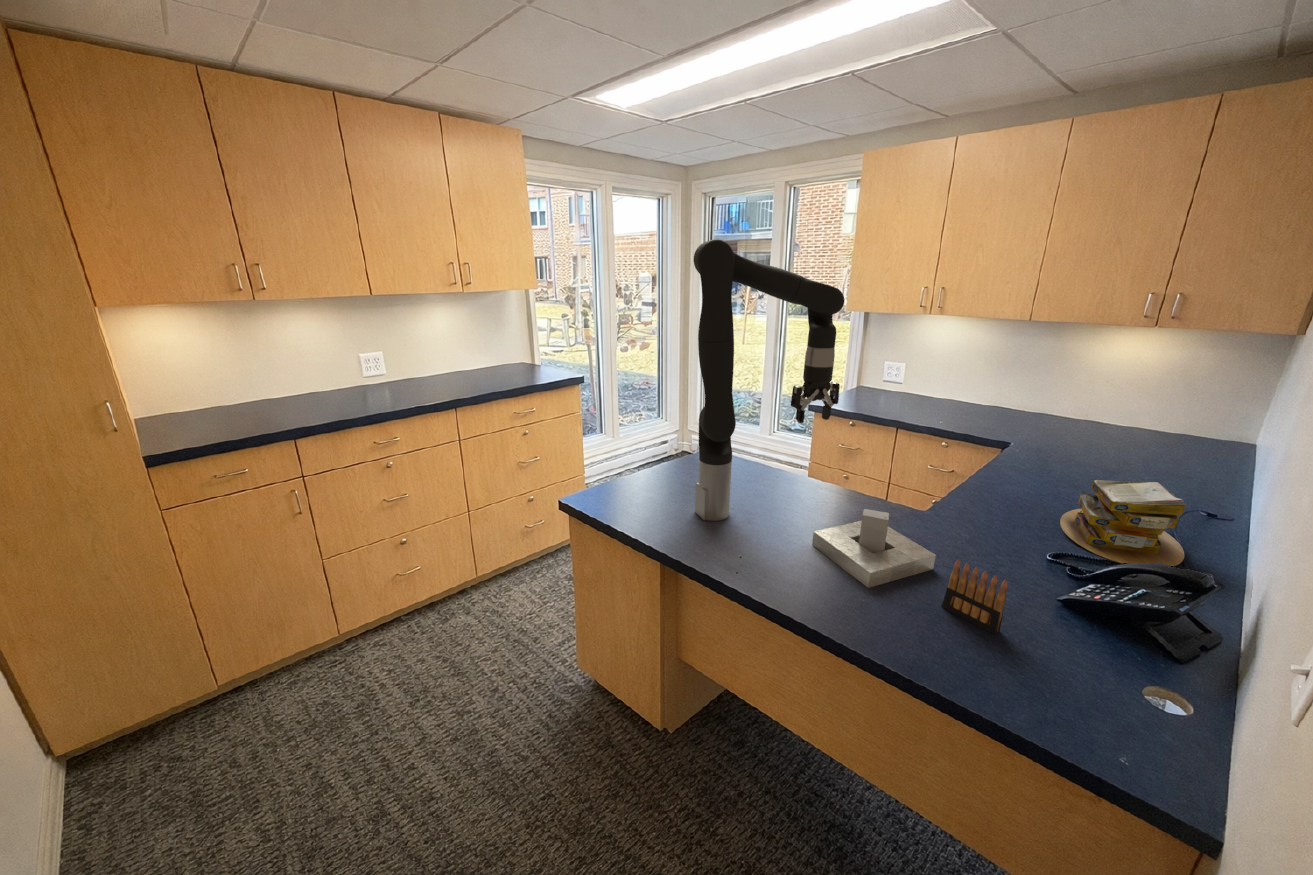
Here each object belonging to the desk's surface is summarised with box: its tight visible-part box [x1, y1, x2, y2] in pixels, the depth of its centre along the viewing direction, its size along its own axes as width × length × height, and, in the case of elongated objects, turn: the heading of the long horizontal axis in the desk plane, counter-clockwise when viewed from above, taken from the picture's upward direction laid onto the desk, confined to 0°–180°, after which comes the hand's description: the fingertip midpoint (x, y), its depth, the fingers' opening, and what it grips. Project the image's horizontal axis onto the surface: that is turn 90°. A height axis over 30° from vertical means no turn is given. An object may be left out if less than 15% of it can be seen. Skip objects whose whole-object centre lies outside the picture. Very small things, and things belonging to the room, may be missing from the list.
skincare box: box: [859, 508, 890, 554], centre depth 126 cm, size 6×4×12 cm
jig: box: [811, 520, 937, 589], centre depth 128 cm, size 20×20×4 cm
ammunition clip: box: [941, 559, 1009, 635], centre depth 104 cm, size 11×2×12 cm, turn 36°
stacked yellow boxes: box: [1059, 478, 1187, 567], centre depth 132 cm, size 25×25×17 cm
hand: (812, 420), depth 143 cm, fingers open, 8 cm apart
